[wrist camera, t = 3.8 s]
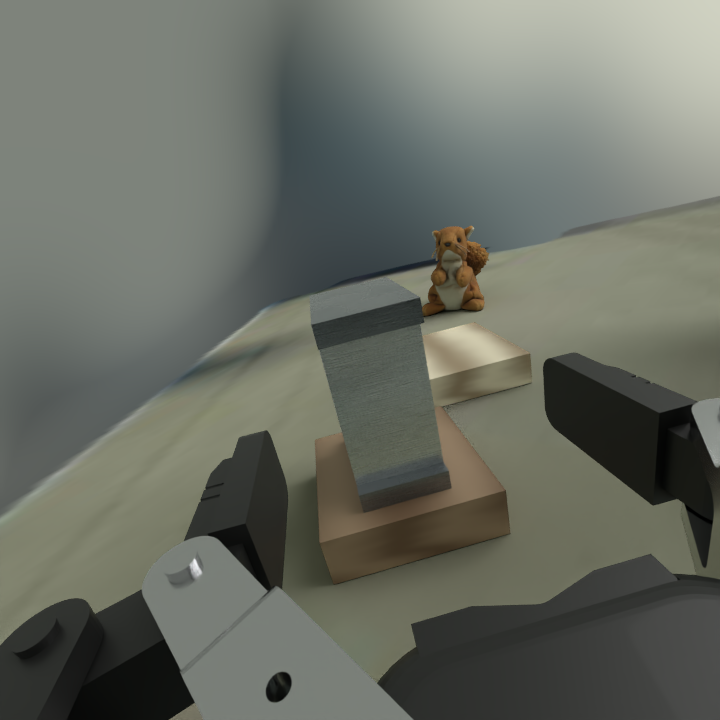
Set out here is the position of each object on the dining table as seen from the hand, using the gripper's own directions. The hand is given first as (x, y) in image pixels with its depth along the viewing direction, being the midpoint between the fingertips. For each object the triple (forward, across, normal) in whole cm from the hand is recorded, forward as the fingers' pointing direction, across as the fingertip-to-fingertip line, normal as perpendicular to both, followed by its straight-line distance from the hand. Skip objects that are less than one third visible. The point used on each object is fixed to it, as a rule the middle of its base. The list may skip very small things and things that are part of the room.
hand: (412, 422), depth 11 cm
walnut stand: (+11, 0, +12) cm, 16 cm away
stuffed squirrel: (+53, -21, +11) cm, 58 cm away
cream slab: (+27, -10, +12) cm, 31 cm away
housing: (+11, 0, +9) cm, 14 cm away
